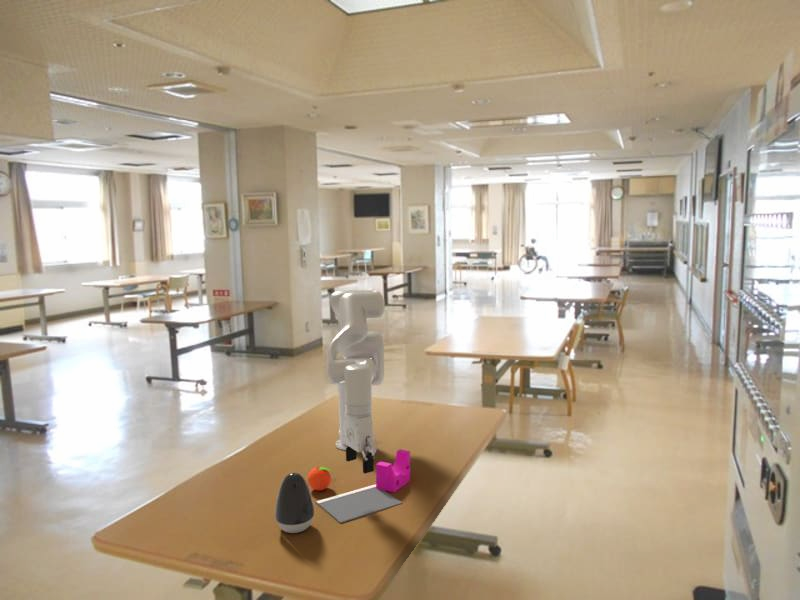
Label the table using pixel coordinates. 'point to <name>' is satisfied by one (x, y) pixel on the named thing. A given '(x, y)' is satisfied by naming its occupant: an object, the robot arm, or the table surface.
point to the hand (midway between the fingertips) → (359, 466)
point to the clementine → (319, 478)
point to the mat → (357, 503)
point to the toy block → (393, 472)
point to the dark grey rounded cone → (294, 504)
